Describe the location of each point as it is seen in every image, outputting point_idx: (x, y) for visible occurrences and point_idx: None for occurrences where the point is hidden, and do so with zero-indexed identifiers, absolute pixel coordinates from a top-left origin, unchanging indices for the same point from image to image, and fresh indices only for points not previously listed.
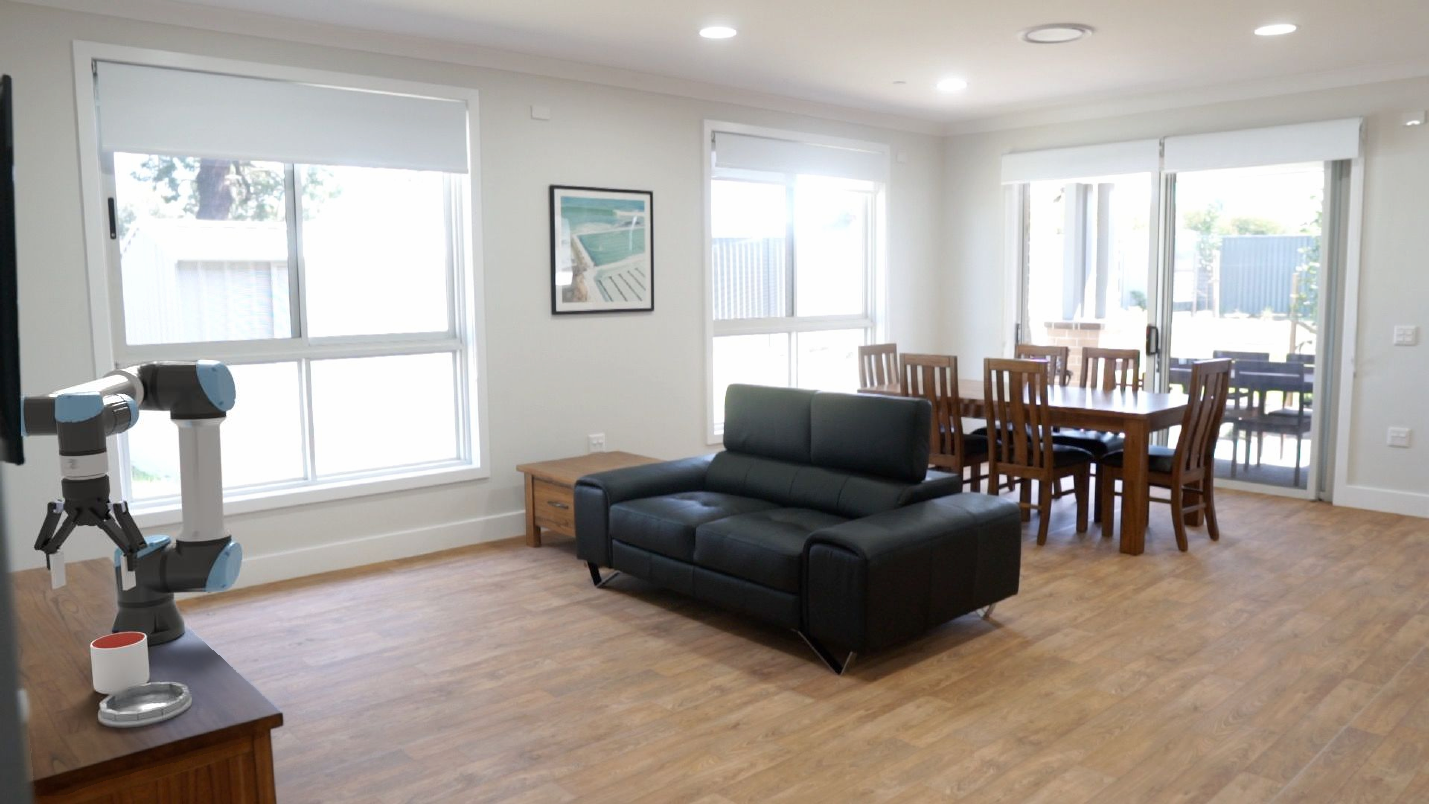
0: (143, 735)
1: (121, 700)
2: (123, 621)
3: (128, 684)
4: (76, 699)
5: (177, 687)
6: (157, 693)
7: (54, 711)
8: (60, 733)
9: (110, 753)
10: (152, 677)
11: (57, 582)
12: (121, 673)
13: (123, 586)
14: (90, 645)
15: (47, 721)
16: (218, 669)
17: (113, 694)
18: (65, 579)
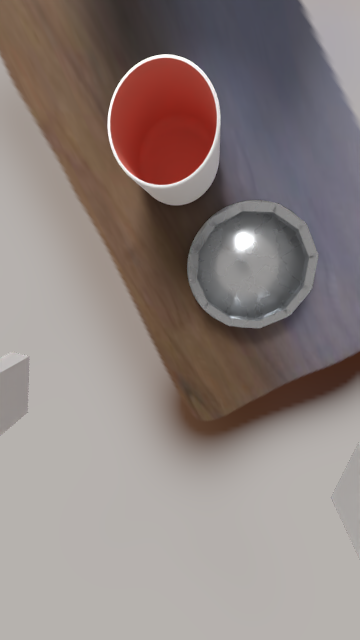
0: (271, 352)
1: (206, 245)
2: None
3: (200, 195)
4: (131, 211)
5: (290, 224)
6: (254, 223)
7: (121, 253)
8: (163, 327)
9: (246, 392)
10: None
11: (8, 418)
12: (190, 195)
13: (343, 517)
14: (114, 155)
15: (129, 286)
16: (329, 85)
17: (196, 249)
18: (11, 369)
